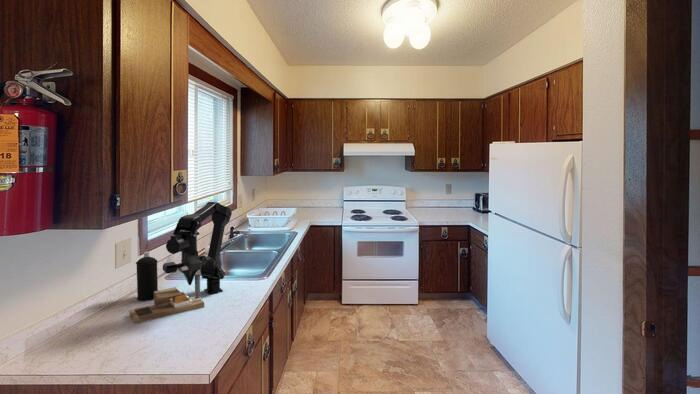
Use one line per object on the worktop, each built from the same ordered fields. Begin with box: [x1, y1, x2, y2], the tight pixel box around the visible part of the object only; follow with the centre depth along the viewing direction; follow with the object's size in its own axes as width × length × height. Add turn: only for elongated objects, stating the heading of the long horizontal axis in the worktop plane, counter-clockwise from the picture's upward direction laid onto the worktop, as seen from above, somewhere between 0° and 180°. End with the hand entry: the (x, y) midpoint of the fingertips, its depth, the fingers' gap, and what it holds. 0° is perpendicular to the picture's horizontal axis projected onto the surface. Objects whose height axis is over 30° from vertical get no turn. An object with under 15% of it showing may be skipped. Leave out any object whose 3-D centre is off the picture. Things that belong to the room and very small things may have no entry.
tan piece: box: [128, 286, 205, 325], centre depth 143 cm, size 10×25×8 cm, turn 131°
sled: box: [170, 273, 202, 308], centre depth 147 cm, size 7×11×10 cm, turn 131°
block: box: [172, 291, 187, 303], centre depth 146 cm, size 4×4×4 cm
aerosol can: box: [135, 251, 159, 302], centre depth 155 cm, size 8×8×20 cm
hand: (189, 284), depth 148 cm, fingers closed
